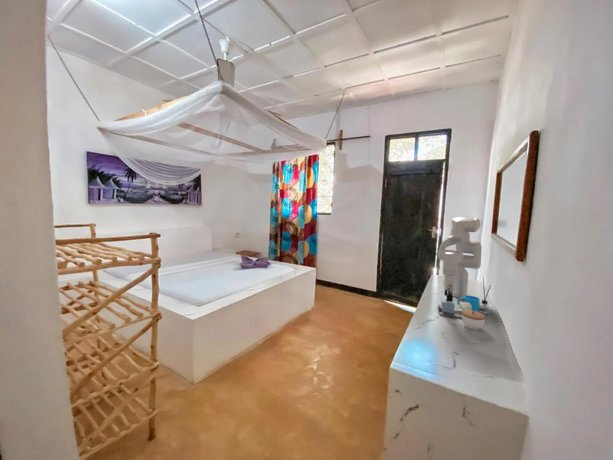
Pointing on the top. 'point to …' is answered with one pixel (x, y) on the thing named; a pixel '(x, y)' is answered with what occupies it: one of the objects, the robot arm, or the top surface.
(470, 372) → the top surface
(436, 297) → the top surface
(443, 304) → the block
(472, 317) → the lidded jar
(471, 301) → the mug
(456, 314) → the rail plate
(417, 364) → the top surface
